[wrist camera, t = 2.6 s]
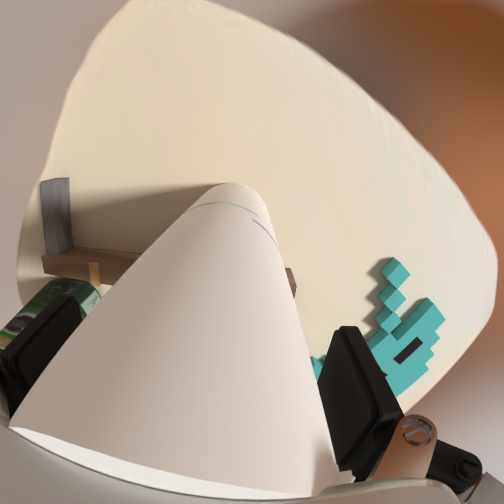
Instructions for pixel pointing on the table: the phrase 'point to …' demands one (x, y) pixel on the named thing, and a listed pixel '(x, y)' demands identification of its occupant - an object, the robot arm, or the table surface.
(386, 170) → the table surface
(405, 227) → the table surface
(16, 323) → the coffee jar
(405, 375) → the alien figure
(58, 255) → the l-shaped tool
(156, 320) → the cylindrical container
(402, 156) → the table surface
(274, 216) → the table surface
